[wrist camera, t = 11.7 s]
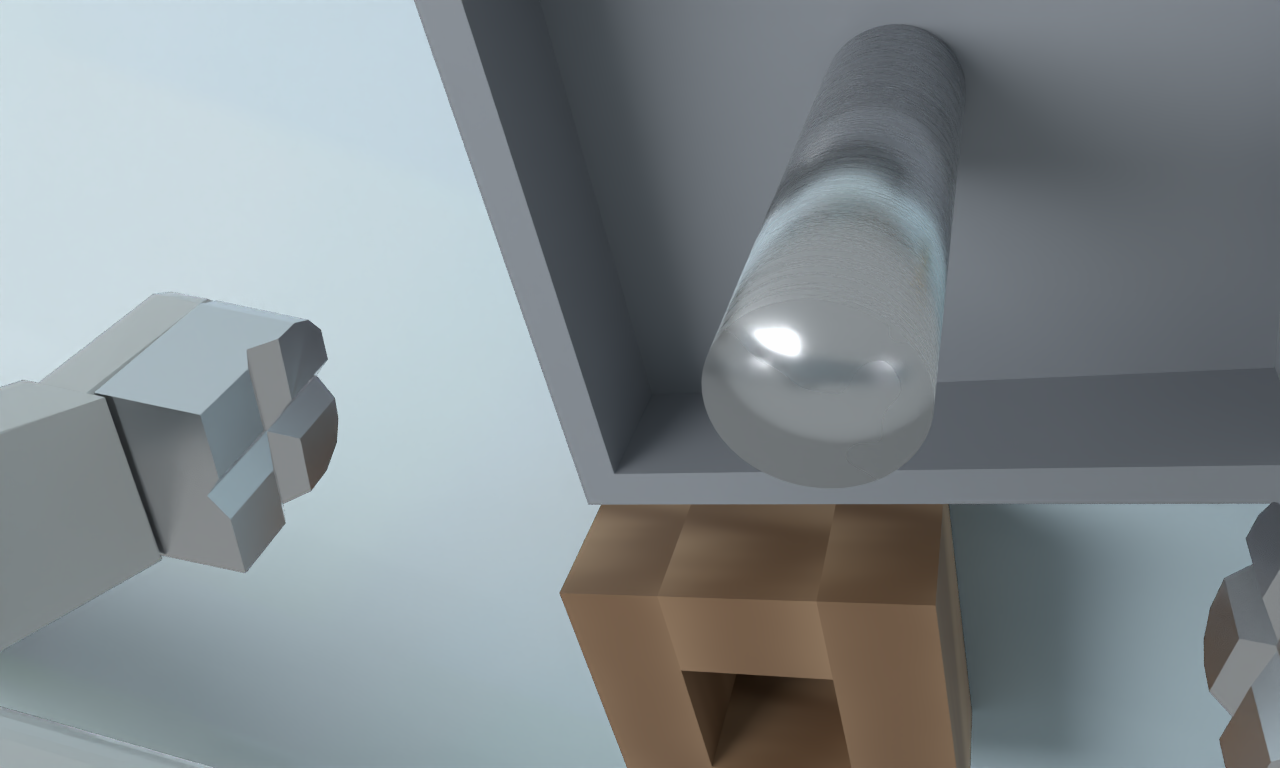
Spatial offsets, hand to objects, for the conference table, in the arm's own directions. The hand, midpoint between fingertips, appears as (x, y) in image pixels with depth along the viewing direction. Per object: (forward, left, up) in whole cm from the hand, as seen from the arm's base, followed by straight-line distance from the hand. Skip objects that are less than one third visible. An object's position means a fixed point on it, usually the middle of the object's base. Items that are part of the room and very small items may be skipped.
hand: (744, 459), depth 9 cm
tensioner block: (-4, -14, -12) cm, 18 cm away
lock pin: (0, -1, -11) cm, 11 cm away
